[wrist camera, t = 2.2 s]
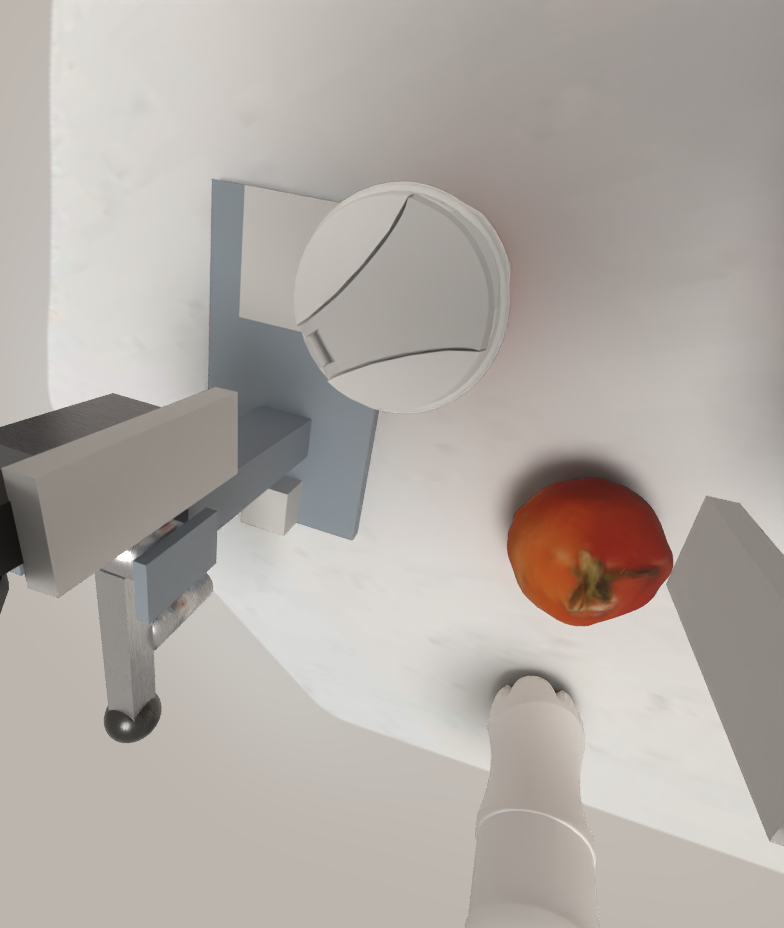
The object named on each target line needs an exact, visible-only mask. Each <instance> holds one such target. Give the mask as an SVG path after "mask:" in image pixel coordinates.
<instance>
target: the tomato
mask: <svg viewBox="0 0 784 928" xmlns="http://www.w3.org/2000/svg"><path fill="white" fill-rule="evenodd" d="M507 551H508V557H509V560H510V562H511V565H512V568H513V571H514V574H515V577H516V580H517V583H518V585H519V587H520V588H521V590H522V592H523V593H524V595H525V596H526V597H527V598H528V599H529V600H530V601H531V602H532V603H534V604H535V605H536V606H537V607H538V608H540V609H541V610H543V611H544V612H546V613H547V614H549V615H551V616H552V617H554V618H555V619H557V620H559V621H561V622H563V623H566V624H569V625H573V626H589V625H592V624H595V623H598V622H602V621H605V620H609V619H612V618H615V617H618V616H621V615H624V614H627V613H629V612H632V611H634V610H637V609H639V608H641V607H643V606H644V605H646V604H647V603H648V602H649V601H650V600H651V599H652V598H653V597H654V596H655V594H656V592H657V591H658V589H659V588H660V586H661V585H662V584H663V583H664V581H665V580H666V579H667V578H668V577H669V575H670V573H671V572H672V569H673V555H672V551H671V549H670V547H669V545H668V543H667V540H666V537H665V534H664V531H663V528H662V526H661V523H660V521H659V519H658V517H657V515H656V514H655V512H654V510H653V509H652V507H651V506H650V505H649V504H648V503H647V502H646V501H645V500H644V499H643V498H642V497H641V496H639V495H638V494H636V493H635V492H633V491H631V490H630V489H628V488H627V487H624V486H622V485H619V484H616V483H613V482H610V481H607V480H605V479H601V478H584V479H575V480H568V481H560V482H555V483H553V484H551V485H549V486H547V487H545V488H544V489H542V490H541V491H539V492H537V493H536V494H535V495H533V496H532V497H531V498H530V500H529V501H528V502H527V503H526V504H525V505H524V506H522V507H521V508H520V509H519V510H518V511H517V512H516V513H515V516H514V519H513V522H512V525H511V527H510V530H509V532H508V541H507Z"/></svg>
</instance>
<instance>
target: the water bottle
mask: <svg viewBox="0 0 784 928" xmlns="http://www.w3.org/2000/svg"><path fill="white" fill-rule="evenodd" d="M488 732H489V736H490V743H491V768H490V775H489V780H488V785H487V789H486V792H485V795H484V798H483V801H482V804H481V806H480V809H479V811H478V814H477V823H476V832H475V836H476V850H475V859H474V868H473V869H474V870H473V877H472V886H471V896H470V904H469V913H468V917H467V919H466V923H465V928H600V925H599V913H598V903H597V892H596V880H595V870H594V869H595V865H596V854H595V843H594V837H593V834H592V832H591V830H590V828H589V826H588V824H587V821H586V818H585V815H584V811H583V807H582V802H581V796H580V769H581V763H582V757H583V754H584V749H585V737H584V730H583V724H582V720H581V717H580V715H579V712H578V710H577V708H576V706H575V704H574V702H573V701H572V699H571V698H570V696H569V695H568V694H567V693H566V692H564V691H563V690H560V691H559V692H557V693H555V691H554V689H553V688H552V686H551V685H550V683H549V682H548V681H547V680H546V679H543V678H541V677H539V676H525V677H522V678H520V679H519V680H517V681H516V683H515V684H514V685H513V687H510V686H509V685H506V686H504V687H503V688H501V689H500V690H499V692H498V693H497V695H496V697H495V698H494V701H493V703H492V706H491V709H490V713H489V719H488Z"/></svg>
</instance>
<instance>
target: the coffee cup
mask: <svg viewBox="0 0 784 928" xmlns="http://www.w3.org/2000/svg"><path fill="white" fill-rule="evenodd" d="M509 310H510V263H509V260H508V257H507V254H506V251H505V248H504V245H503V244H502V242H501V240H500V238H499V236H498V234H497V232H496V231H495V229H494V227H493V226H492V225H491V224H490V222H489V221H488V220H487V218H486V217H485V216H484V214H483V213H481V212H479V211H478V210H476V209H474V208H472V207H471V206H469V205H467V204H466V203H464V202H462V201H461V200H459V199H458V198H456V197H454V196H453V195H451V194H450V193H448V192H446V191H443V190H441V189H438V188H436V187H433V186H431V185H426V184H421V183H416V182H388V183H383V184H377V185H374V186H371V187H369V188H366V189H363V190H360V191H358V192H357V193H355V194H353V195H352V196H350V197H348V198H346V199H345V200H343V201H342V202H341V203H340V204H339V205H337V206H336V207H335V208H334V209H333V210H332V211H330V212H329V214H328V215H327V216H326V217H325V218H324V220H323V221H322V222H321V223H320V224H319V226H318V227H317V229H316V231H315V232H314V234H313V235H312V237H311V239H310V240H309V243H308V244H307V246H306V248H305V250H304V253H303V255H302V257H301V260H300V262H299V266H298V270H297V274H296V278H295V287H294V313H295V319H296V325H297V326H300V329H301V331H302V334H303V338H304V342H305V344H306V346H307V347H308V350H309V352H310V354H311V356H312V358H313V359H314V361H315V362H316V364H317V366H318V367H319V369H320V370H321V371H322V372H323V374H324V375H325V376H326V377H327V378H328V379H329V380H328V381H327V382H329V383H330V384H331V385H332V386H333V387H334V388H335V389H336V390H338V391H339V392H341V393H342V394H344V395H345V396H347V397H348V398H350V399H352V400H354V401H356V402H359V403H361V404H363V405H365V406H367V407H370V408H373V409H376V410H380V411H383V412H390V413H398V414H409V413H419V412H425V411H430V410H433V409H436V408H439V407H441V406H444V405H446V404H448V403H450V402H452V401H454V400H455V399H457V398H459V397H460V396H462V395H463V394H464V393H466V392H467V391H468V390H469V389H471V388H472V387H473V386H474V385H475V384H476V383H477V382H478V381H479V380H480V379H481V377H482V376H483V375H484V374H485V373H486V371H487V370H488V368H489V367H490V365H491V364H492V362H493V361H494V359H495V357H496V355H497V353H498V351H499V349H500V347H501V344H502V342H503V339H504V335H505V332H506V328H507V325H508V318H509Z"/></svg>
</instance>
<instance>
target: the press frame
mask: <svg viewBox="0 0 784 928" xmlns="http://www.w3.org/2000/svg"><path fill="white" fill-rule="evenodd" d="M339 204H340V203H338V202H333V201H328V200H322V199H317V198H312V197H307V196H301V195H296V194H291V193H285V192H280V191H275V190H269V189H264V188H259V187H254V186H248V185H242V184H237V183H231V182H226V181H221V180H215V179H212V208H211V263H210V319H209V374H208V390H209V389H211V388H214V387H218V388H222V389H227V390H231V391H236V392H238V474H236V475H235V476H233V477H232V478H230V479H229V480H228V481H226V482H225V483H223V484H222V485H220V486H219V487H218V488H216V489H215V490H213V491H212V492H210V493H209V494H207V495H206V496H205V497H203V498H202V499H200V500H199V501H197V502H196V503H194V504H193V505H192V506H190V507H189V508H187V509H186V510H184V511H183V512H182V513H180V514H179V515H177V516H176V517H174V518H173V519H174V520H177V521H180V522H183V523H184V524H183V525H181V526H180V527H178V528H177V529H176V530H174V531H173V532H172V533H170V534H169V535H167V536H166V537H165V538H163V539H162V540H161V541H159V542H158V543H156V544H155V545H154V546H152V547H151V548H150V549H148V550H147V551H145V552H144V553H143V554H141V555H140V556H139V557H137V558H136V559H134V560H133V575H134V592H135V608H136V620H137V621H140V622H143V623H145V624H148V625H149V624H150V623H151V622H153V621H154V620H155V619H156V618H157V617H158V616H159V615H160V614H161V613H162V612H163V611H164V610H166V609H167V608H168V607H169V606H170V605H171V604H172V603H173V602H174V601H175V600H176V599H178V598H179V597H180V596H181V595H182V594H183V593H184V592H185V591H186V590H187V589H188V588H189V587H191V586H192V585H193V584H194V583H195V582H196V581H197V580H198V579H199V578H200V577H201V576H203V575H204V574H205V573H206V572H207V571H208V570H209V569H210V568H211V567H212V566H213V565H214V564H216V552H217V531H218V530H219V529H220V528H221V527H222V526H224V525H225V524H226V523H227V522H229V521H230V520H231V519H232V518H233V517H235V516H236V515H237V514H238V513H239V512H241V511H242V513H241V522H243V523H246V524H249V525H252V526H255V527H258V528H261V529H264V530H267V531H270V532H273V533H276V534H279V535H282V536H284V535H285V534H286V533H287V532H288V531H289V530H290V529H291V527H292V526H293V525H294V524H295V523H299V524H302V525H305V526H308V527H311V528H314V529H318V530H321V531H324V532H327V533H330V534H333V535H336V536H339V537H342V538H346V539H349V540H353V539H354V537H355V536H356V534H357V532H358V526H359V521H360V515H361V509H362V504H363V498H364V492H365V487H366V481H367V475H368V470H369V464H370V458H371V453H372V447H373V441H374V435H375V430H376V424H377V418H378V413H379V410H376V409H373V408H370V407H367V406H365V405H363V404H361V403H359V402H356V401H354V400H352V399H350V398H348V397H347V396H345V395H344V394H342V393H341V392H339V391H338V390H336V389H335V388H334V387H333V386H332V385H331V384H330V383H329V382H327V381H328V380H329V379H328V378H327V377H326V376H325V375H324V374H323V372H322V371H321V370H320V369H319V367H318V366H317V364H316V362H315V361H314V359H313V358H312V356H311V354H310V352H309V350H308V347H307V346H306V344H305V342H304V338H303V334H302V331H301V329H300V326H297V325H296V319H295V313H294V287H295V278H296V274H297V270H298V266H299V262H300V260H301V257H302V255H303V253H304V250H305V248H306V246H307V244H308V243H309V240H310V239H311V237H312V235H313V234H314V232H315V231H316V229H317V227H318V226H319V224H320V223H321V222H322V221H323V220H324V218H325V217H326V216H327V215H328V214H329V212H330V211H332V210H333V209H334V208H335V207H336V206H337V205H339ZM10 572H13V573H15V574H18V575H20V576H22V575H23V574H25V573H24V568H23V564H21V565H20V566H18V567H16V568H15V569H13V570H11V571H10Z"/></svg>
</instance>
